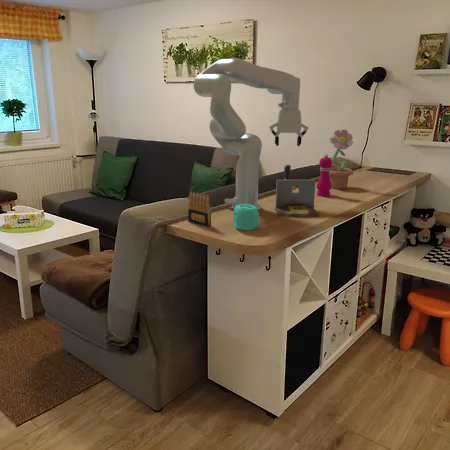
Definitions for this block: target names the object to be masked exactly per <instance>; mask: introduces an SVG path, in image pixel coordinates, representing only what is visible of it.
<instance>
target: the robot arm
mask: <svg viewBox="0 0 450 450" xmlns="http://www.w3.org/2000/svg"><path fill="white" fill-rule="evenodd" d="M232 82H236V83H239V84H242V85H245V86H248V87H250V88H255V89H263V90H264V89H265V90H267V92H268V93H270V94H272V95H281V102H280V103H278V107H279V108H281V109H279V112H278V116H277V122H275V123H273V124H272V125H270V126H269V130H270V132H271V134H272V135H273V136H274V144H275V146H277V147H278V146H279V145H280V143H279V141H280V134H296V135H297V138H296V141H297V142H296V146H298V147H300V146H301V144H302V138H303V137H304V135H305V134H306V133H307V132H308V129H309V127H308V126H307V125H306V124H305V125H304V124H303V123H302V112H301V110H300V94H301V93H300V91H301V79H300V77H297V76H295V75H293V74H291V73H288V72H286V71H282V70H277V69H272V68H269V67H266V66H261V65H257V64H255V63H252V62H249V61H247V60H245V59H241V58H237V57H233V58H231V57H230V58H221V59H218V60H217V61H215V62H214V63H212V64H211V65H210V66H209V67H207V68H205V69H204V70H203V71H202V72H200V73H199V74H198V75H197V76H196V77H195V79H194V81H193V90H194V92H195V94H196V95H198V96H199V97H201V98H202V97H203V98H210V106H209V111H210V112H209V113H210V116H211V117H212V118H211V120H210V121H209V122H210V123H209V131H210V134H211V136H212V137H213V138H214V140H215V141H216V142H217V144H219V146H220V147H221V148H222V149H223V150H224V151H225V152H226V153H228V154H230V155H232V156H233V155H234V156H239V158H238V160H237V163H236V167H235V196H234V197H232V198H224V204H228V205H231V209H233V210H234V208H235V207H236V206H237V205H241V204H250V205H255V206H256V207H257V208H258V211H260V210H261V209H262V205H261V204H260V203H258V202H259V201H258V198H259V173H260V172H259V169H260V167H259V166H260V158H261V152H262V147H263V143H262V140H261V138H260V137H259V136H258V135H256V134H254V133H248V132H247V127H246V124H245V123H244V121H243V120H242V118H241V117H240V116H239V114H238V113H237V112H236V111H235V109H234V108H233V106H232V104H231V101H230V100H231V92H232ZM274 128H276V130H277V131H275V129H274ZM302 128H303V131H302Z"/></svg>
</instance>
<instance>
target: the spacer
mask: <svg viewBox="0 0 450 450" xmlns="http://www.w3.org/2000/svg"><path fill="white" fill-rule="evenodd" d="M288 211H289V212H290V213H291V214H308V209H307V208H306V207H305V206H288Z"/></svg>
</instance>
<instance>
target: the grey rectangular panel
mask: <svg viewBox="0 0 450 450" xmlns="http://www.w3.org/2000/svg"><path fill="white" fill-rule="evenodd" d="M293 186H296V187H298V192H295V191H294V192H293V190H292V187H293ZM315 193H316V180H315V179H290V180H284V179H276V184H275V207H276V208H288V206H305V207H306V208H314V209H315Z"/></svg>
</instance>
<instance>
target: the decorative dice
mask: <svg viewBox="0 0 450 450" xmlns="http://www.w3.org/2000/svg"><path fill="white" fill-rule="evenodd" d="M259 212H260V211H259V210H258V208H257V207H256V206H255V205H250V204H241V205H237V206H236V207H235V208H234V209H233V225H234V228H235V229H236V230H238V231H243V232H247V231H248V232H249V231H254V230H256V229H257V228H258V227H259V223H260V213H259Z"/></svg>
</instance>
